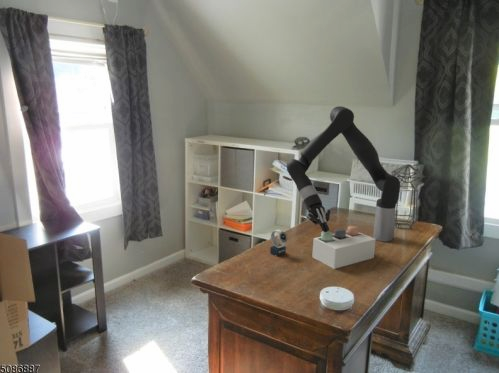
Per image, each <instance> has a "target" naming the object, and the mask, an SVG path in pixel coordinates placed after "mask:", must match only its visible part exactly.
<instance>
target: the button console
mask: <svg viewBox="0 0 499 373" xmlns="http://www.w3.org/2000/svg"><path fill="white" fill-rule="evenodd" d="M312 240H313V243H312V254H311V255H312V258H313V259H315V260H317V261H318V262H320V263H323V264H324V265H325V266H328V267H330V268H331V269H333V270H336V269H339V268H343V267H346V266H349V265H353V264H357V263H360V262H364V261H367V260H368V261H369V260H371V259H374V258H375V248H376V241H377V240H376V239H374V238H373V236H372V237H371V236H369V235H367V234H364V233H362V232H359V233H358V236H354V237H352V236H350V235H347V230H346V238H345V239H341V240H339V239H337V238H335V237H334V233H333V237H332V242H328V243H325V242H323V241H321V236H318V237H314V238H313V239H312Z"/></svg>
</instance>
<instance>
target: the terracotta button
mask: <svg viewBox="0 0 499 373" xmlns="http://www.w3.org/2000/svg"><path fill="white" fill-rule="evenodd" d="M346 231H347V235H350V236H352V237H354V236H358V233H359V231H360V227H359V226H356V225H348V226H347V229H346Z"/></svg>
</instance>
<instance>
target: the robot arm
mask: <svg viewBox="0 0 499 373" xmlns="http://www.w3.org/2000/svg"><path fill="white" fill-rule="evenodd" d="M329 118H330V121H331V122H330V123H329V125H328V126H326V128H325V129H324V130H323V131H322V132H320V133H319V134H318V135H317V136H315V137H314V138H312V139H311V140H310V141H309V142H308V143H307V145H305V147H303V149H302V150H301V152H300V158H299V159H295V158H293V159H290V160H288V162H287V163H286V169H287V173H288V174H289V176H290V177H291V180H292V181H293V182H294V184H295V186H296V189H297V190H298V192H299V195H300V197H301V200H302V202H303V204H304V207H305V208H306V210H307V211H308V214H307V215H306V216H305V218H307V219H308V220H309V221H310V222H312V223H313V224H314V225H318V226H320V228H321V230H322V232H323V231H324V232H328V231H329V232H330V227H329V225H328V221H330V216H331V210H330V209H325V207H324V206H323V202H322V200H321V197H320V195H319V193H318V191H317V190H316V188H315V186H314V185H313V182H312V181H311V179H310V178H309V176H308V175H307V174H306V173H307V171H308V169H309V168H310V167H311V165H312V163H313V161H314V160H315V159H317V157H318V156H319V155H320V154H321V153H322V152H323V150H325V148H326V147H327V146H328V145H329V144H330V143H331V142H332V141H334V140H335V139H336V138H337V137H338V136H339V135H340V134H341V135H343V137H344V139H345V141H346V142H347V144H348V145H349V146H348V147H350V148H351V150H352V152H353V154H354V156H356V158H357V159H358V161H359V162H360V163H361V165H362V166H363V167H364V169H365V170H366V172H368V174H369V176H370V177H371V179H372V181H373V183H374V184H375V186H376V188H377V189H378V190H379V191H380V192H381V197H380V198H378V199H376V206H375V215H374V225H373V235H372V238H374V239H376V241H379V242H392V240H393V239H394V237H395V236H394V235H395V228H396V227H395V225H396V224H395V221H394V220H395V219H396V206H397V202H398V203H399V197H400V191H401V187H400V186H401V183H400V181H401V180H400V179H399V178H398V177H397V176H393V175H392V174H390V173H388V172H387V171H386V169H385V168H384V167H383V166H382V164H381V162H380V158H379V153H378V151H377V149H376V148H375V146H374V145H373V143H372V141H370V139H369V138H368V137H367V136H366V135H365V134H364V133H363V132H362V131H361V130H360V129H359V128H358V127H357V126H356V124H355V122H354V121H355V120H354V119H355V115H354V112H353V111H352V110H351V109H350V108H348V107H346V106H341V105H340V106H334V107H333V108H332V109H331V110H330V114H329ZM394 218H395V219H394Z"/></svg>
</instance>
